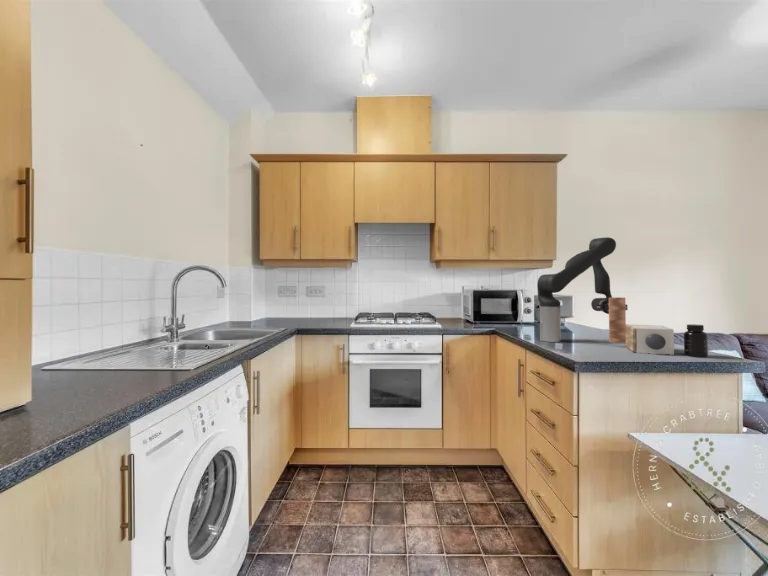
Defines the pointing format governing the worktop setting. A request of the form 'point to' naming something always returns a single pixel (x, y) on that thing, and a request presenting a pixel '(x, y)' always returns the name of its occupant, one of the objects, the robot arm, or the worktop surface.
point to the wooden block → (620, 324)
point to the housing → (654, 339)
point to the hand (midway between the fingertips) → (615, 308)
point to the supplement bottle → (695, 341)
